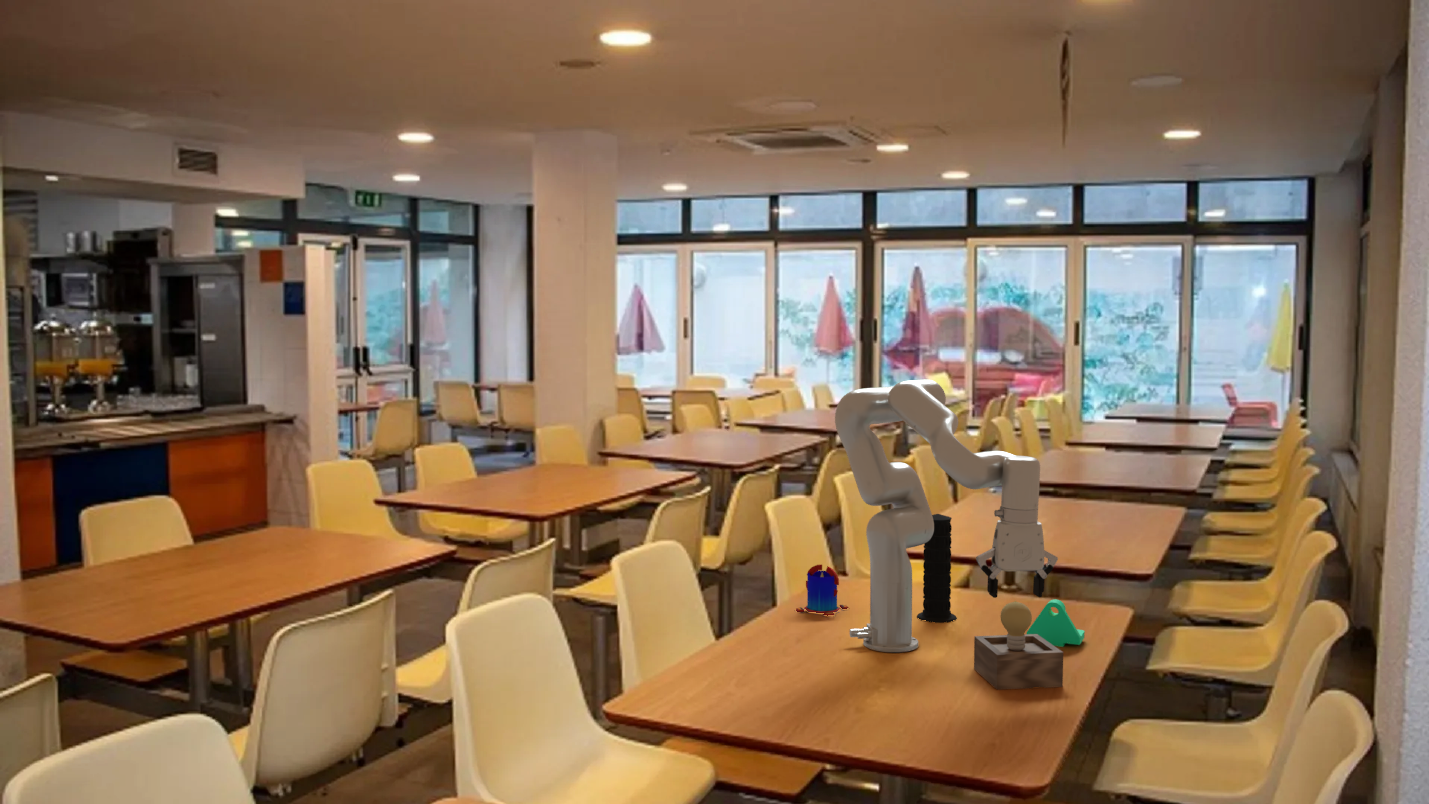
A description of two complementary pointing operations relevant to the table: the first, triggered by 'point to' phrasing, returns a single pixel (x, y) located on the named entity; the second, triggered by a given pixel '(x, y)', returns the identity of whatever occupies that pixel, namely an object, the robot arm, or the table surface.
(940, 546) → the handle grip
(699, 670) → the table surface
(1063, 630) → the camera mount
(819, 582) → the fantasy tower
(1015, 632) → the light bulb
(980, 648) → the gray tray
